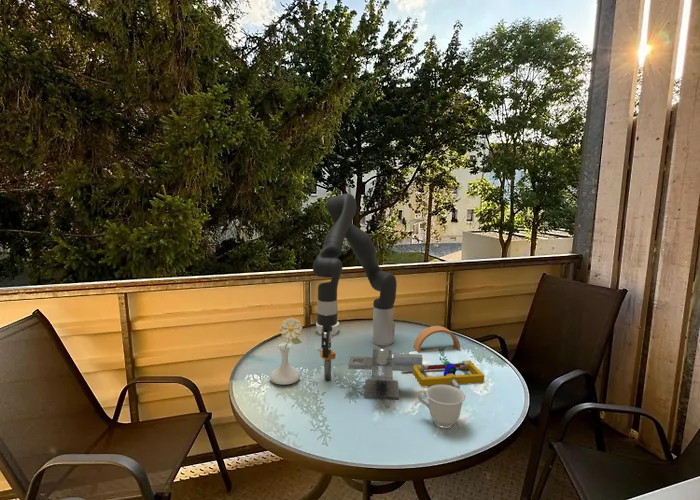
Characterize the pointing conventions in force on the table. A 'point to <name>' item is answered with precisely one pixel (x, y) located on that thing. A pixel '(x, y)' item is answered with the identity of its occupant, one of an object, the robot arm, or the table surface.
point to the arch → (432, 330)
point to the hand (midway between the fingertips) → (326, 352)
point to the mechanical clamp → (449, 374)
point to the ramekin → (335, 327)
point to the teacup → (443, 403)
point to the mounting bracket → (318, 348)
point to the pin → (328, 364)
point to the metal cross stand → (384, 371)
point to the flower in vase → (285, 371)
